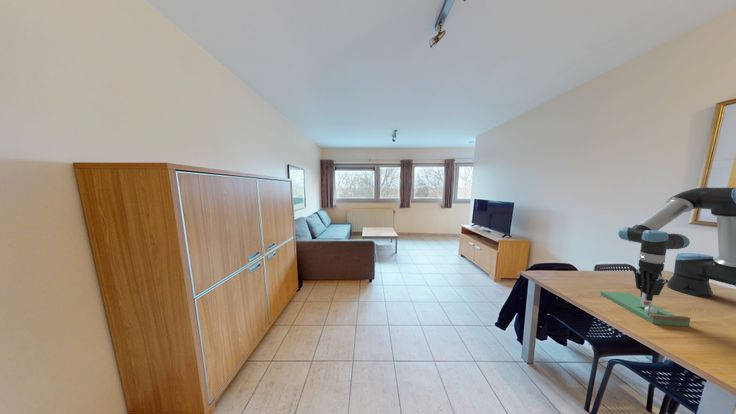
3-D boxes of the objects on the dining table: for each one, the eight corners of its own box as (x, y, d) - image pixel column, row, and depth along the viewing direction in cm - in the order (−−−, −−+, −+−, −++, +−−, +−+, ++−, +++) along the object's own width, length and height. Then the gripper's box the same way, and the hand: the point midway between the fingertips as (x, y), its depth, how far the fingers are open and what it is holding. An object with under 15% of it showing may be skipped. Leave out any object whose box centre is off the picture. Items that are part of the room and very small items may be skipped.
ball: (649, 309, 106) (654, 305, 104) (657, 317, 103) (662, 312, 101) (639, 308, 107) (645, 304, 104) (647, 316, 103) (653, 312, 101)
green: (628, 296, 121) (630, 281, 120) (689, 326, 95) (692, 308, 94) (598, 294, 123) (600, 280, 122) (650, 323, 97) (652, 305, 96)
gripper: (628, 256, 111) (623, 297, 113) (658, 265, 98) (651, 312, 100) (645, 256, 109) (639, 298, 112) (677, 266, 97) (670, 313, 99)
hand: (645, 305), depth 106 cm, fingers closed
